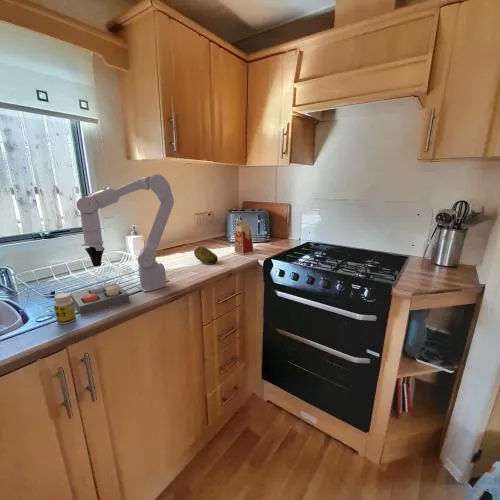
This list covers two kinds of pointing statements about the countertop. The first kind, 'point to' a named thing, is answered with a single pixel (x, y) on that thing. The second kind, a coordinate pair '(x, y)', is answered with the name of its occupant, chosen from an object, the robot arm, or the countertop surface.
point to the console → (101, 302)
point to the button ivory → (112, 291)
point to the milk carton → (243, 238)
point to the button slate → (96, 289)
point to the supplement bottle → (64, 308)
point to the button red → (90, 298)
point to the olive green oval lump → (205, 255)
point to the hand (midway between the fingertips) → (97, 266)
